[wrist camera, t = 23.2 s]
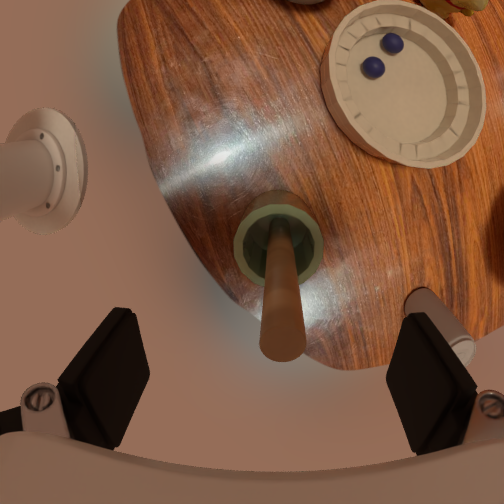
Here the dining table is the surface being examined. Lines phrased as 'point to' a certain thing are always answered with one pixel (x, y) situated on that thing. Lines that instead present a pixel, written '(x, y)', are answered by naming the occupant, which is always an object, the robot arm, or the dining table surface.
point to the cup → (306, 1)
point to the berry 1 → (373, 67)
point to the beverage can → (443, 322)
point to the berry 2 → (393, 43)
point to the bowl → (404, 86)
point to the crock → (257, 229)
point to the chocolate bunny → (454, 6)
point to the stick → (281, 298)
